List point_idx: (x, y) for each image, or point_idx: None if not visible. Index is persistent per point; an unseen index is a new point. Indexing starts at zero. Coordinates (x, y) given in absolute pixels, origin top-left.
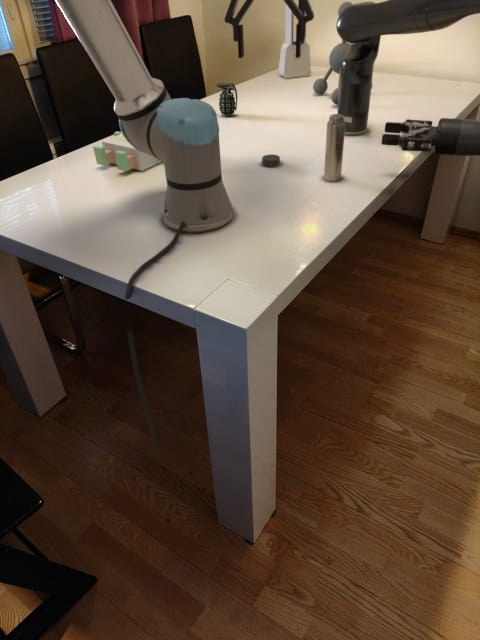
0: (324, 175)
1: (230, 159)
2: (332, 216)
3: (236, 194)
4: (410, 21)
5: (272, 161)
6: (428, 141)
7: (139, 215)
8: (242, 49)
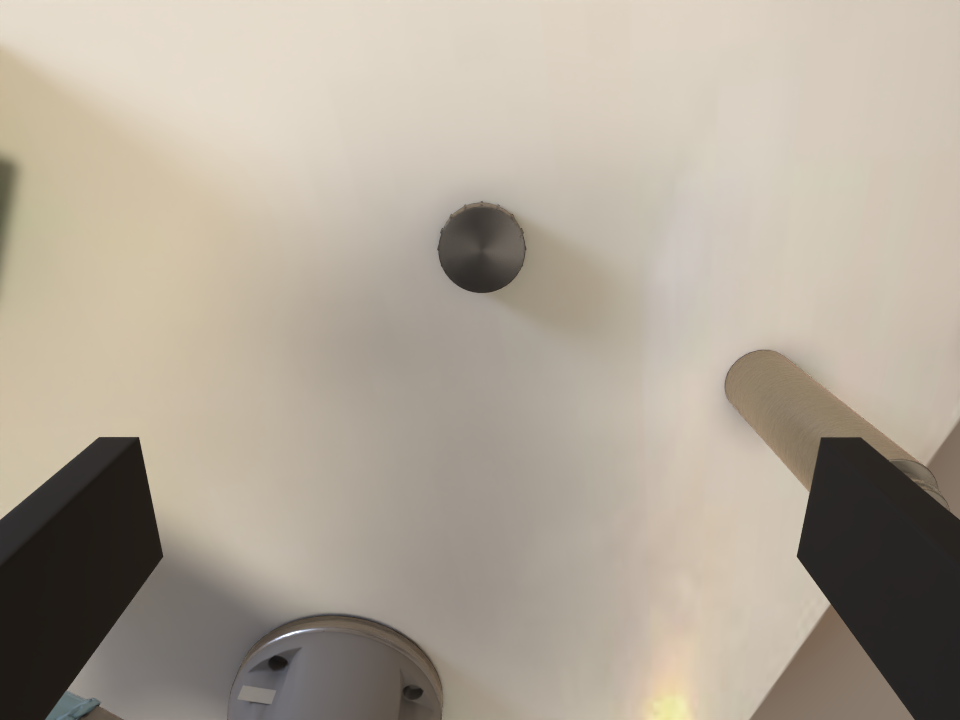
0: (731, 399)
1: (268, 201)
2: (736, 652)
3: (410, 548)
4: None
5: (496, 289)
6: None
7: (158, 701)
8: (107, 551)
